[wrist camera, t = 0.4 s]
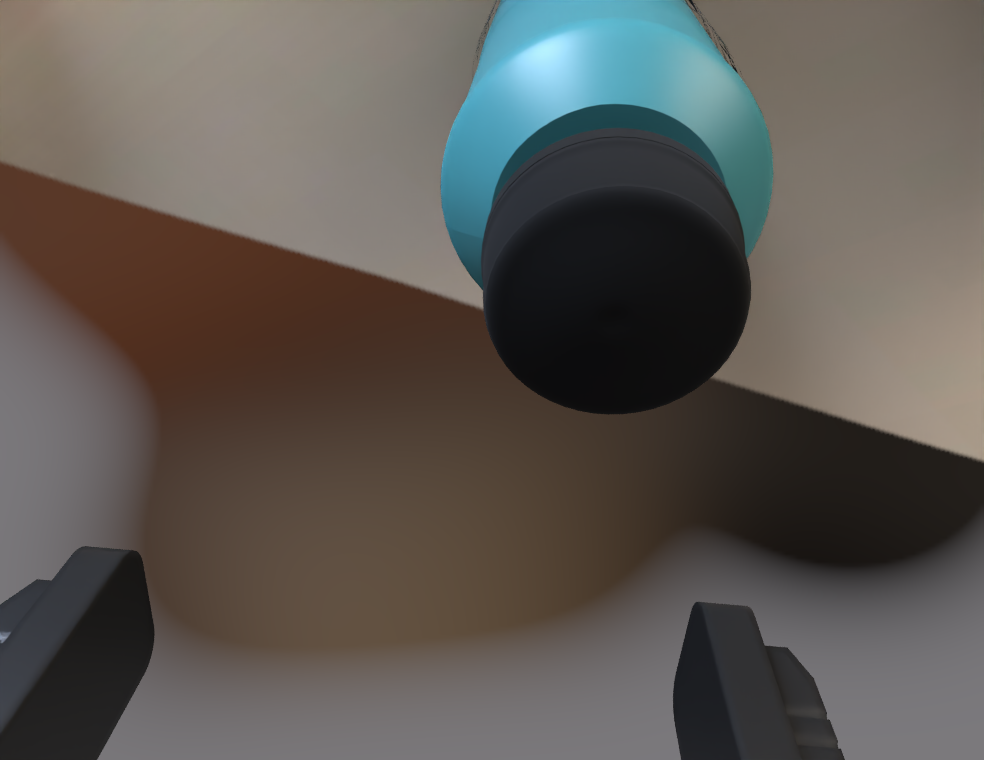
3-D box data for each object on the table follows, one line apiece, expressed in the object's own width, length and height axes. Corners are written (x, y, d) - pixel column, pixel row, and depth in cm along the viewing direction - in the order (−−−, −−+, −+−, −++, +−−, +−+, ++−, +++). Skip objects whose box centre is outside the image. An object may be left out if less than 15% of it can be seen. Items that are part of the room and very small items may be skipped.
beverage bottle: (555, 155, 30) (547, 548, 14) (453, -5, 27) (293, 257, 11) (715, 56, 28) (929, 392, 12) (622, -130, 25) (735, -33, 9)
